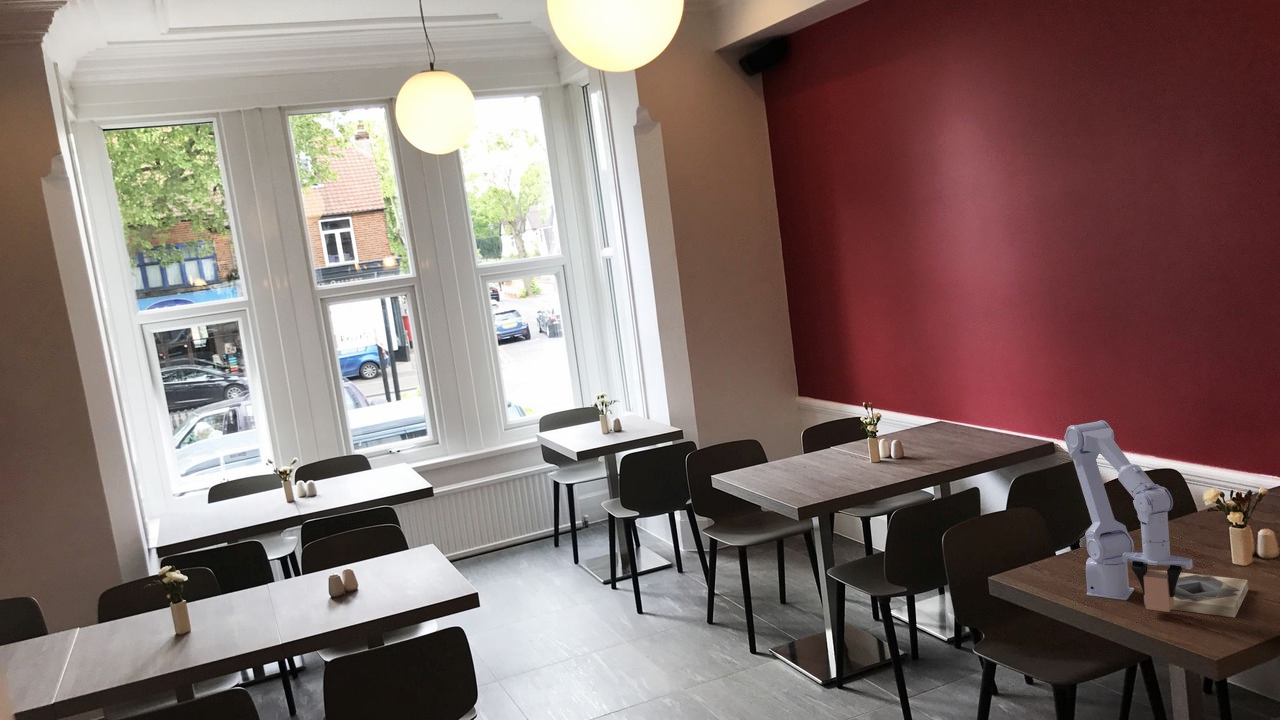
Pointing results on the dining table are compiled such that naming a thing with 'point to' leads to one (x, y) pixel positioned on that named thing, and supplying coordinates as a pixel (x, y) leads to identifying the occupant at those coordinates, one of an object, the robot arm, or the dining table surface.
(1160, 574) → the peg
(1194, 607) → the socket board
